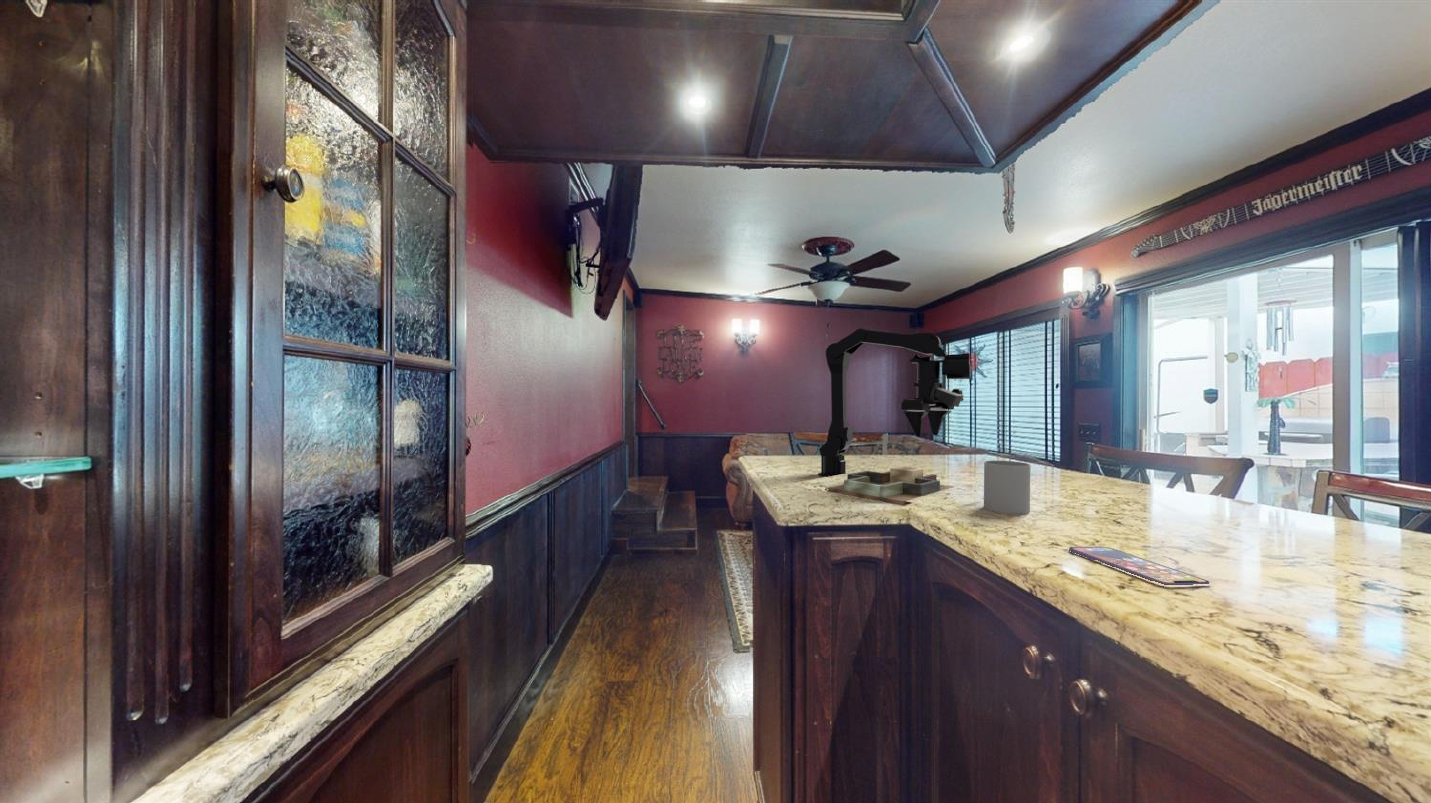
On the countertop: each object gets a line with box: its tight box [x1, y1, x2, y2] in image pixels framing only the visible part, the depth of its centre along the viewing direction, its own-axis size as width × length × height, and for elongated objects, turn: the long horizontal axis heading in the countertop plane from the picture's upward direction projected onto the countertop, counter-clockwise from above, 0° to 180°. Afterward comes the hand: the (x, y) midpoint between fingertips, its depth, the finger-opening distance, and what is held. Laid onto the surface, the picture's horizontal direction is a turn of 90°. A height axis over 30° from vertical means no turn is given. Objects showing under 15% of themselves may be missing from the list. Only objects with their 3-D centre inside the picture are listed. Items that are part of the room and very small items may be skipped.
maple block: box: [889, 465, 924, 484], centre depth 127 cm, size 6×6×4 cm
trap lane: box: [827, 470, 954, 507], centre depth 122 cm, size 20×26×4 cm
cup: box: [983, 460, 1031, 516], centre depth 102 cm, size 8×8×10 cm
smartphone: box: [1068, 546, 1211, 585], centre depth 69 cm, size 1×7×15 cm
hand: (927, 436), depth 132 cm, fingers open, 9 cm apart
